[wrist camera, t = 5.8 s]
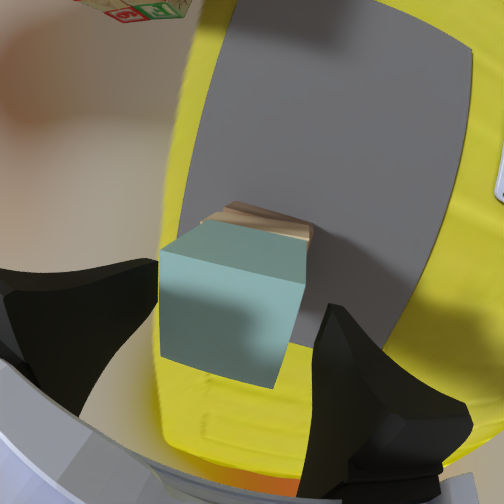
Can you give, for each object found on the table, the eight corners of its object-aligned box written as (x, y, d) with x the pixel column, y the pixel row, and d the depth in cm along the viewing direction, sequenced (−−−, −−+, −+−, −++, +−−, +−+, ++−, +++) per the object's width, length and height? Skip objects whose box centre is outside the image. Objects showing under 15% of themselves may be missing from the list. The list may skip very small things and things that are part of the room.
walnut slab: (312, 222, 16) (313, 233, 14) (289, 292, 18) (286, 311, 16) (235, 200, 17) (223, 206, 15) (219, 270, 19) (207, 286, 16)
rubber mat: (470, 50, 10) (471, 49, 10) (372, 360, 19) (372, 362, 19) (248, -22, 11) (247, -24, 11) (170, 299, 21) (168, 301, 20)
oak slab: (308, 225, 14) (309, 238, 12) (293, 307, 16) (290, 332, 13) (216, 211, 15) (200, 221, 12) (211, 292, 16) (197, 313, 14)
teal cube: (306, 240, 12) (305, 284, 8) (284, 324, 13) (273, 389, 9) (208, 219, 12) (159, 250, 8) (199, 303, 14) (160, 356, 10)
